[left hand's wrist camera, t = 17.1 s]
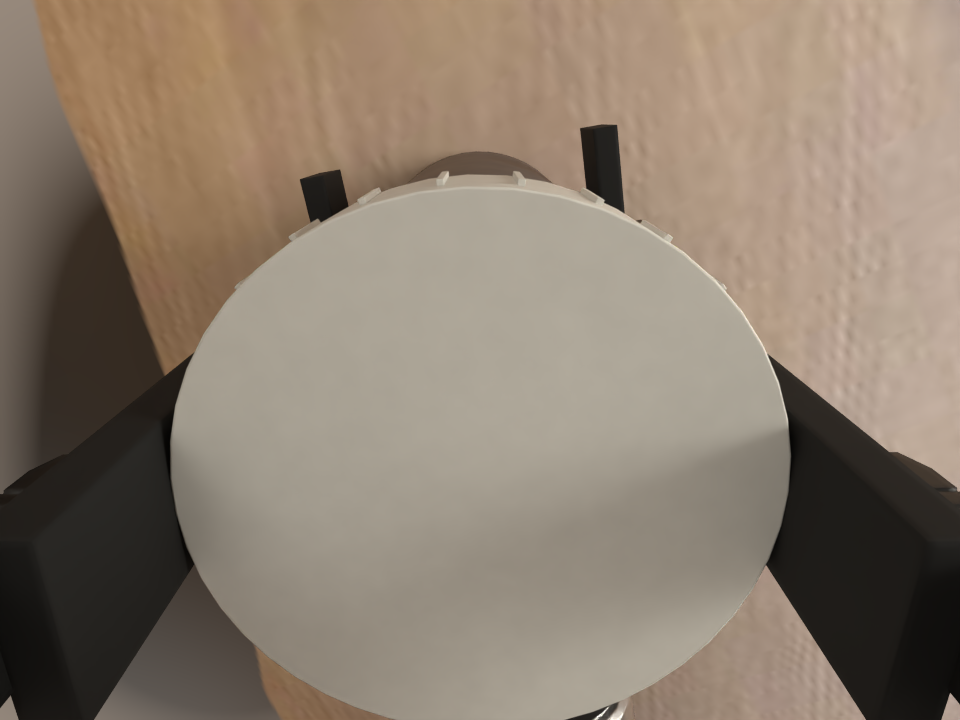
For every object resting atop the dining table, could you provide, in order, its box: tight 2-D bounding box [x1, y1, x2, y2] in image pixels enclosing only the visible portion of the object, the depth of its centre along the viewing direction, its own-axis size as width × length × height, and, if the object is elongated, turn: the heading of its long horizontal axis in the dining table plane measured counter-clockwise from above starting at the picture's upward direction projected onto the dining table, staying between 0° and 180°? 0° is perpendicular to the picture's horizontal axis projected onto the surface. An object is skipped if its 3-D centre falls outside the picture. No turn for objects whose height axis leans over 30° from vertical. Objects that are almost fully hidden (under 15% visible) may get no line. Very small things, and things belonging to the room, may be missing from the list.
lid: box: [170, 171, 791, 720], centre depth 11 cm, size 10×10×2 cm
